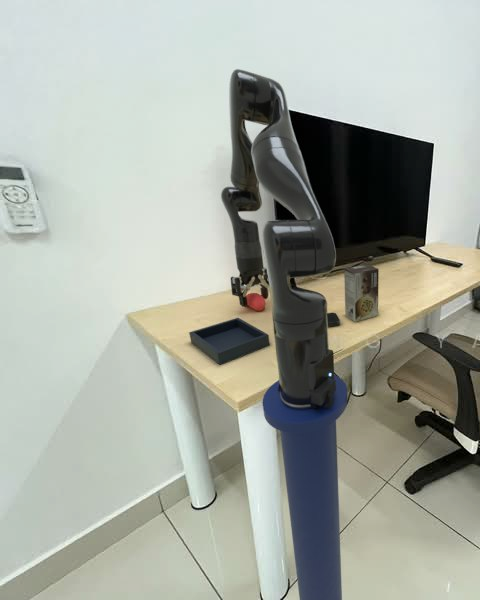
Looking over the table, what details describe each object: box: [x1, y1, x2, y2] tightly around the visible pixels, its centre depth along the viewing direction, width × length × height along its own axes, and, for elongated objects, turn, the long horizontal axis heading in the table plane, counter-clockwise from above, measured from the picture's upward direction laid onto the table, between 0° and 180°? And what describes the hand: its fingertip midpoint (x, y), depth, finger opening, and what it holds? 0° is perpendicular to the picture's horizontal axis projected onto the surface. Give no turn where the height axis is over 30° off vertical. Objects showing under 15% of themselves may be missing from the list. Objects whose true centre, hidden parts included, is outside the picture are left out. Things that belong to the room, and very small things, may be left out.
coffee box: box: [343, 264, 380, 323], centre depth 99 cm, size 9×6×16 cm
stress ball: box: [246, 292, 266, 312], centre depth 103 cm, size 5×9×6 cm, turn 41°
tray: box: [188, 317, 271, 366], centre depth 80 cm, size 16×13×3 cm
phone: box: [327, 312, 341, 328], centre depth 94 cm, size 8×1×15 cm
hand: (255, 302), depth 103 cm, fingers open, 8 cm apart
